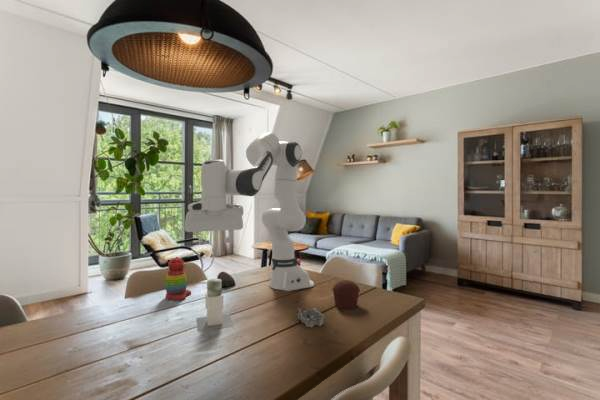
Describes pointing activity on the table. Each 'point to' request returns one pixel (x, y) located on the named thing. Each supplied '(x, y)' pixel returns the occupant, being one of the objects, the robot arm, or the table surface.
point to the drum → (214, 287)
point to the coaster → (204, 326)
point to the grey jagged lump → (310, 317)
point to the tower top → (214, 303)
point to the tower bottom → (214, 317)
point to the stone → (226, 279)
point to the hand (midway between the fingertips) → (214, 243)
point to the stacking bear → (176, 280)
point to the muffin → (346, 294)
